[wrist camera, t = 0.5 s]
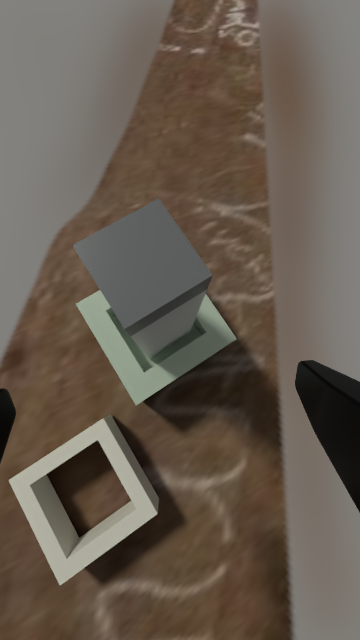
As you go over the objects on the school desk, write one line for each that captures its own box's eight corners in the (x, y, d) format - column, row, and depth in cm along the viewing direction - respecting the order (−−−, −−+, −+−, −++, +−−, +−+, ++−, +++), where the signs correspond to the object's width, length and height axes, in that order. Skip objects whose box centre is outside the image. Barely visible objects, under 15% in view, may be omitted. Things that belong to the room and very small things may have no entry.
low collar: (159, 498, 21) (157, 513, 18) (73, 560, 20) (59, 585, 17) (110, 414, 22) (103, 418, 20) (27, 469, 21) (8, 480, 19)
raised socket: (225, 346, 23) (236, 338, 20) (141, 401, 22) (136, 405, 18) (173, 268, 25) (173, 247, 21) (91, 317, 24) (75, 304, 20)
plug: (189, 334, 22) (212, 275, 10) (149, 359, 21) (124, 329, 9) (164, 296, 22) (158, 198, 10) (125, 320, 22) (72, 245, 10)
